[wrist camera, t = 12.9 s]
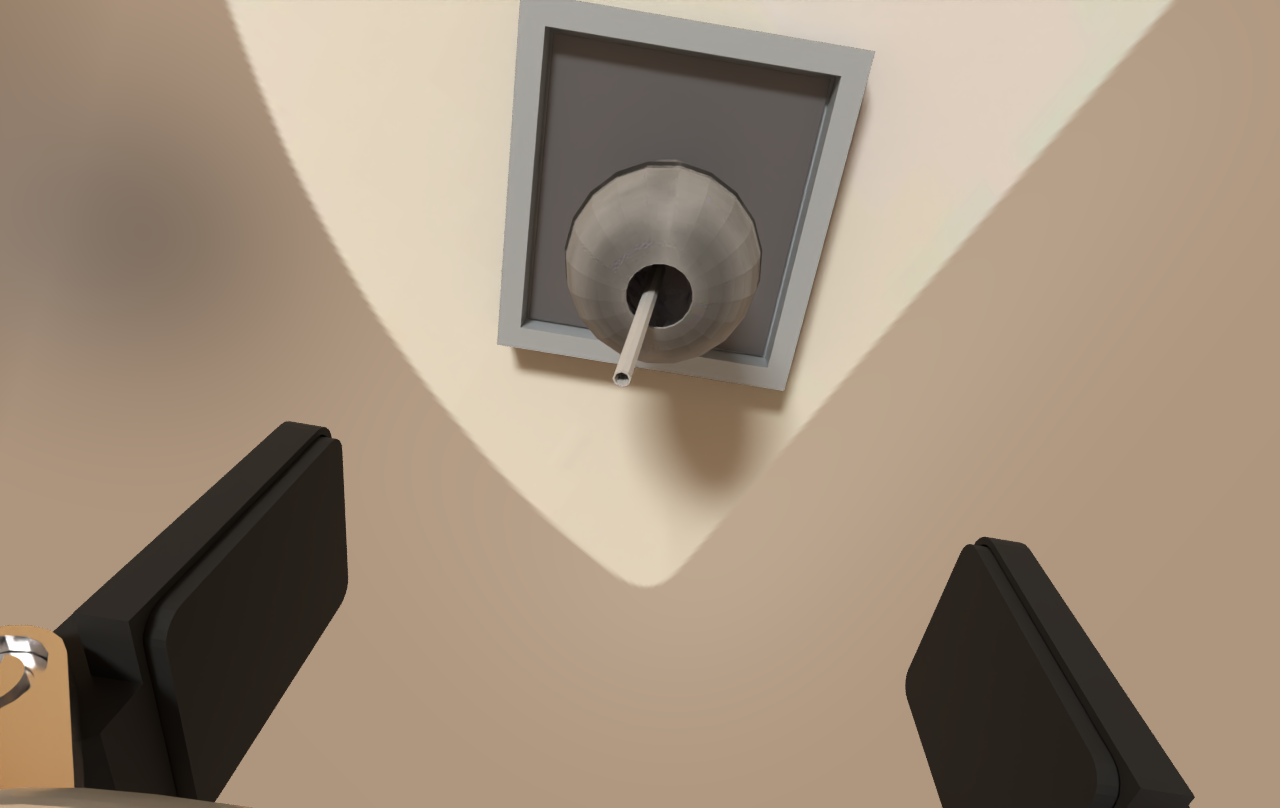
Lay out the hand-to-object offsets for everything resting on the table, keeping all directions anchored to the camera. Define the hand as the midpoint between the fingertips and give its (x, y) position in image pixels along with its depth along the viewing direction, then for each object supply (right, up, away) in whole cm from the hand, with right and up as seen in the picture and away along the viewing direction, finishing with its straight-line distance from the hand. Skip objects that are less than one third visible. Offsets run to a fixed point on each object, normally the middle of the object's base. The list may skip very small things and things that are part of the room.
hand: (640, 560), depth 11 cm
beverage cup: (+1, +13, +26) cm, 29 cm away
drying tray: (+1, +13, +27) cm, 30 cm away
